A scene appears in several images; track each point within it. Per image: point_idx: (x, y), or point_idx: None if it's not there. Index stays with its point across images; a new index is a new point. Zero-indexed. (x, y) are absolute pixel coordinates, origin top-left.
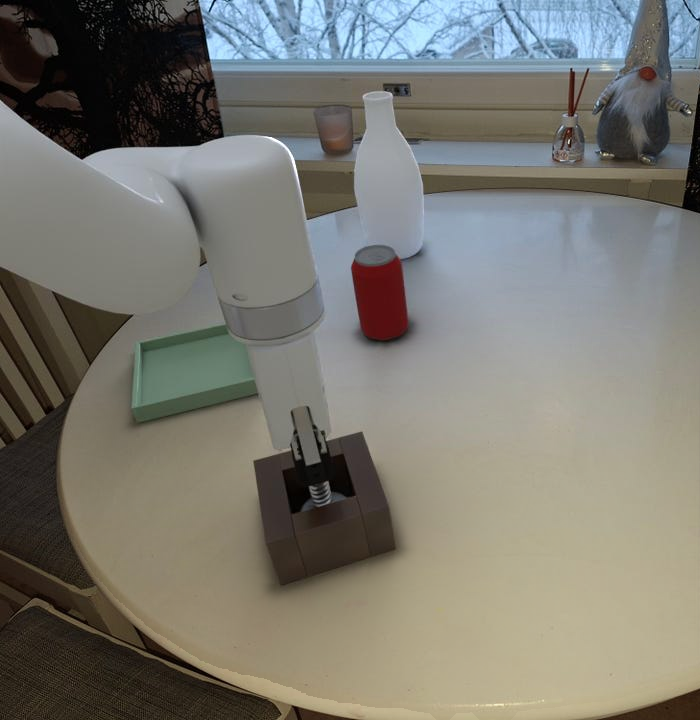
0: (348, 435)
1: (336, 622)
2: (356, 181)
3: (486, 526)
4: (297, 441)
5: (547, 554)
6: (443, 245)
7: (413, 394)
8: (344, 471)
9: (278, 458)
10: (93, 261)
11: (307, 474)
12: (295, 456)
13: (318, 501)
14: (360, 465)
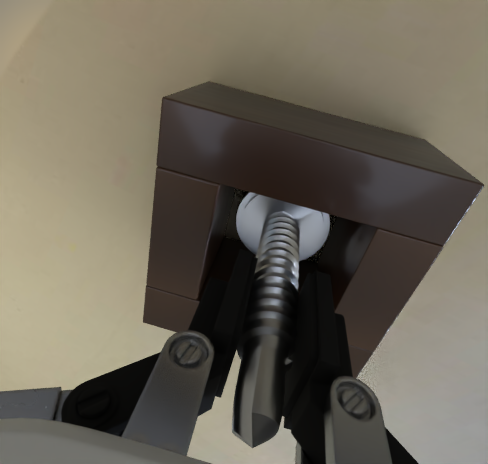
0: (362, 365)
1: (100, 133)
2: None
3: (159, 341)
4: (302, 357)
5: (98, 355)
6: None
7: (439, 416)
8: None
9: (426, 239)
10: None
11: (203, 297)
12: (161, 353)
13: (264, 235)
14: None
